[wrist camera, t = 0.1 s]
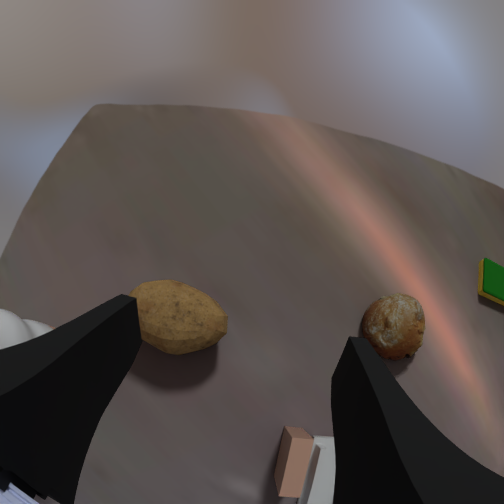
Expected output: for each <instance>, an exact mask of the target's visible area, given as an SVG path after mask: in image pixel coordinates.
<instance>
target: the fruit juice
mask: <svg viewBox="0 0 504 504" xmlns="http://www.w3.org/2000/svg"><path fill="white" fill-rule="evenodd" d="M54 329H56V328H54V327H51V326H49V325H46V324H44V323H41V322H37V321H34V320H28V319H24V320H21V319H20V318H19V317H18V316H17V315H15V314H14V313H12V312H10V311H7V310H4V309H0V349H3V348H7V347H10V346H14V345H17V344H20V343H23V342H26V341H28V340H31V339H33V338H36V337H38V336H41V335H43V334H45V333H48V332H50V331H52V330H54Z"/></svg>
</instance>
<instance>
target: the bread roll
mask: <svg viewBox="0 0 504 504" xmlns="http://www.w3.org/2000/svg"><path fill="white" fill-rule="evenodd" d="M362 328H363V335H364V337H365V338H366V339H367V340H368V341H369V343H370V344H371V345H372V347H373V348H374V350H375V351H376V352H377V353H378V354H379V355H380V356H382V357H383V358H386V359H391V360H399V359H402V358H405V357H407V358H410V357H411V356H412V355H413V354H414V353H415V352H416V351H417V349H418V348H419V347H421V346H422V343H423V342H422V341H423V339H422V338H423V334H424V330H425V319H424V312H423V309H422V306H421V305H420V303H419V302H418V301H417V300H416V299H415V298H413V297H411V296H409V295H406V294H405V295H404V294H401V293H396V294H393V295H391V296H389V297H388V296H383V297H381V298H380V299H379V300H377V301H375V302H373V303H372V304H371V305H370V306H369V307H368V309H367V310H366V311H365V313H364V317H363V322H362Z"/></svg>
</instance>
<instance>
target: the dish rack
mask: <svg viewBox="0 0 504 504" xmlns="http://www.w3.org/2000/svg"><path fill="white" fill-rule="evenodd" d="M313 439H314V442H313V446H312V451H311V455H310V460H309V464H308V468H307V473H306V477H305V481H304V485H303V488H302V492H301V496H300V498H299V497H298V501H297V504H333V495H334V484H335V469H336V465H335V446H334V437H327V436H313Z"/></svg>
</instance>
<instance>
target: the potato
mask: <svg viewBox="0 0 504 504" xmlns="http://www.w3.org/2000/svg"><path fill="white" fill-rule="evenodd" d="M128 296H131V297H135V298H137V307H138V315H139V323H140V331H141V338H142V340H144V341H146V342H147V343H149V344H151V345H153V346H154V347H156V348H158V349H160V350H161V351H163V352H165V353H169V354H175V355H181V354H185V353H190V352H194V351H198V350H202V349H205V348H207V347H209V346H212V345H214V344H216V343H217V342H218V341H219V340H220V339H221V338H222V337H223V336H224V335H225V334H226V333H227V320H228V316H227V315H226V313H225V312H224V311H223V309H222V308H221V307H220V305H219V304H218V303H217V301H215V300H214V299H212V298H211V297H209V296H208V295H207V294H205V293H203V292H201V291H199V290H197V289H195V288H193V287H191V286H189V285H186V284H184V283H181V282H178V281H175V280H159V281H151V282H144V283H142V284H141V285H139V286H138V287H137V288H135V289H134V290H132V291H131V292H130V294H129V295H128Z"/></svg>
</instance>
